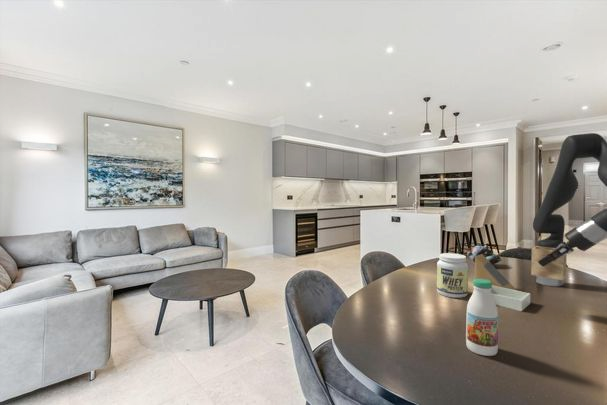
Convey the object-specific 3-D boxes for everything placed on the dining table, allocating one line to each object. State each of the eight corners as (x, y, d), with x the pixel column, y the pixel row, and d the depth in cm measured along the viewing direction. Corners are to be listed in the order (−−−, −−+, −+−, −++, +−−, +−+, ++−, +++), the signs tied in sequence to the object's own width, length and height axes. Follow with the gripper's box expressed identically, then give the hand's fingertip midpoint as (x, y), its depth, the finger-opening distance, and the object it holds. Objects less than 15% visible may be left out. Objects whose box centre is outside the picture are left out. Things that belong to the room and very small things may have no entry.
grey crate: (530, 303, 117) (530, 293, 117) (521, 311, 110) (521, 300, 110) (489, 293, 129) (489, 284, 128) (478, 300, 121) (478, 290, 121)
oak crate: (566, 276, 108) (566, 249, 107) (562, 280, 104) (563, 251, 103) (535, 271, 115) (535, 246, 114) (531, 274, 111) (531, 248, 110)
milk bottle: (460, 343, 88) (461, 276, 87) (484, 341, 89) (485, 275, 88) (477, 357, 80) (478, 285, 79) (504, 356, 81) (505, 284, 80)
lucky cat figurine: (481, 269, 167) (469, 246, 172) (472, 272, 179) (461, 250, 184) (506, 261, 168) (493, 238, 173) (495, 264, 179) (483, 243, 184)
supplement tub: (437, 296, 126) (438, 257, 125) (435, 287, 137) (435, 251, 137) (470, 300, 122) (470, 259, 121) (465, 290, 133) (465, 253, 132)
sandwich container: (514, 297, 125) (514, 262, 124) (474, 288, 136) (474, 256, 136) (519, 292, 130) (520, 258, 130) (481, 284, 142) (481, 253, 141)
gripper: (580, 224, 107) (538, 251, 117) (573, 228, 98) (528, 257, 108) (600, 240, 103) (555, 267, 113) (595, 246, 94) (546, 275, 104)
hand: (542, 262), depth 110 cm, fingers closed on oak crate, 6 cm apart
